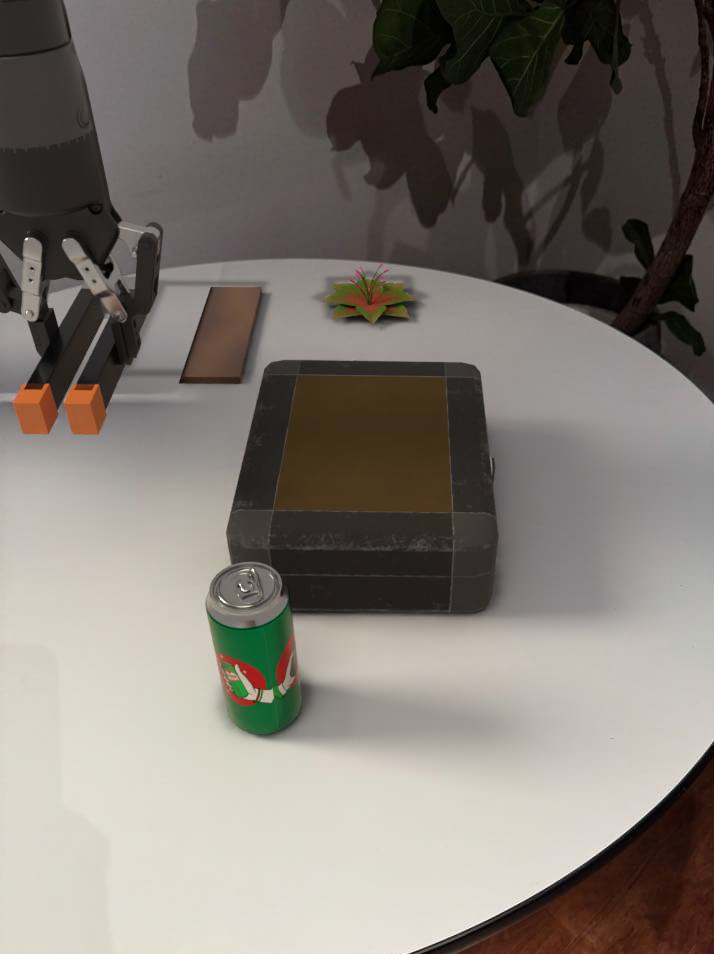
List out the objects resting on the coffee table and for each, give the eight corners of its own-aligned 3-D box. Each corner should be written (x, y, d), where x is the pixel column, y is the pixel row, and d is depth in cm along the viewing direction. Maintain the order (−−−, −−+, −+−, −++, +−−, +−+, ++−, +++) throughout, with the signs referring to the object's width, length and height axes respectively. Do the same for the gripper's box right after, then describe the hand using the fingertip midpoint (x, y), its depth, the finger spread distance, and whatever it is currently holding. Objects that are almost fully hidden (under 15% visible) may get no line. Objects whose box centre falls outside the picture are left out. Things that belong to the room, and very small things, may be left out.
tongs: (98, 435, 60) (90, 403, 58) (22, 434, 60) (12, 402, 58) (154, 305, 74) (148, 276, 72) (92, 304, 74) (85, 275, 72)
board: (124, 383, 90) (122, 376, 89) (162, 292, 105) (160, 286, 104) (240, 383, 90) (239, 376, 89) (262, 293, 105) (261, 286, 104)
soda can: (285, 669, 62) (269, 547, 54) (314, 720, 59) (301, 599, 51) (218, 695, 61) (191, 573, 53) (243, 750, 57) (219, 629, 49)
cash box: (500, 618, 66) (509, 544, 61) (233, 614, 66) (220, 540, 61) (481, 427, 85) (487, 357, 80) (272, 424, 85) (265, 354, 79)
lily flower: (319, 283, 107) (317, 247, 104) (416, 281, 107) (417, 245, 104) (318, 332, 98) (315, 294, 95) (424, 329, 99) (425, 292, 96)
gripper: (158, 106, 58) (195, 336, 69) (-61, 101, 57) (13, 333, 69) (133, 144, 52) (177, 388, 64) (-109, 140, 52) (-20, 385, 63)
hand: (92, 358), depth 66 cm, fingers closed on tongs, 4 cm apart
